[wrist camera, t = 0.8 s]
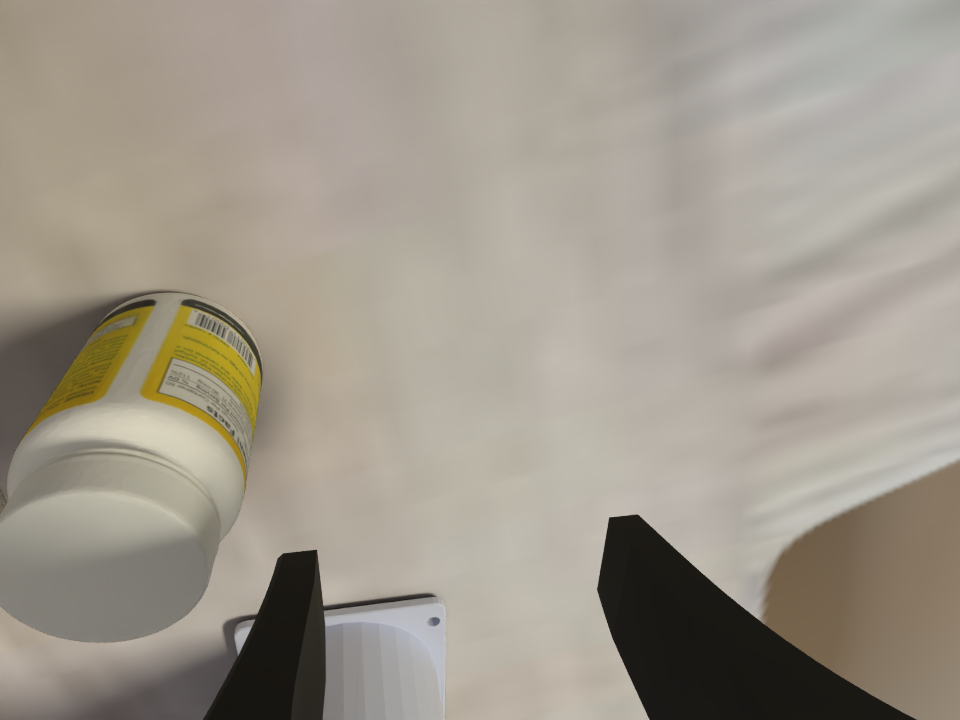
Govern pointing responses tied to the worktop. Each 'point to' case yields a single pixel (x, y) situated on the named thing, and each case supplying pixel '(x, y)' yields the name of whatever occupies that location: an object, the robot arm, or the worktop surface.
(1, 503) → the square frame with handle
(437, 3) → the worktop surface
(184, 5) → the worktop surface
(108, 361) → the supplement bottle
